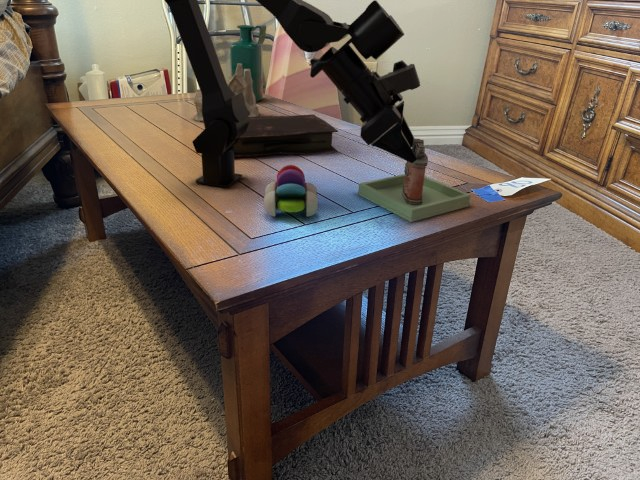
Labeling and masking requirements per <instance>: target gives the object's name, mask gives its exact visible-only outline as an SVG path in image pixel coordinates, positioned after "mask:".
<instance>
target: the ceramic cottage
mask: <svg viewBox="0 0 640 480" xmlns="http://www.w3.org/2000/svg"><path fill="white" fill-rule="evenodd" d="M242 75H243V68H242V64H238V65H237V68H236V74H235V75H234V76H233V77H231V75H230V76H228V83H227V85H228V86H229V88H230V89H231V90H232V91H233V93H234V94H235V95H237V94H239V93H240V92H242V93H243V96H244V100H245V105H246V107H247V109H248V111H249V112H250V113H251V114H250V115H249V116H248V117H257V116H260V109H259V106H258V105H257V102H256V100H255V95H254V93H253V87H252V82H253V81H252V78H251V71H250V69H244V77H243V76H242ZM193 104H194V106H195V110H196V114H195V121H198V122H199V121H200V122H203V117H202V94H201V91H200V88H198V89H196V90H195V95H194V99H193Z"/></svg>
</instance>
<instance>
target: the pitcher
mask: <svg viewBox="0 0 640 480" xmlns="http://www.w3.org/2000/svg"><path fill="white" fill-rule="evenodd" d="M236 28H237V29H239V39H238V40H237V41H234V42H232V43H231V44H230V46H229V58H230V59H229V61H230V62H229V63H230V76H231V77H233V76H234V75H235V74H236V68H237V65H238V64H242V68H243V75H242V76H243V77H244V69H250V71H251V78H252V81H253V82H252V87H253V93H254V95H255V100H256V103H258V102H260V101H261V100H263V98H264V94H263V93H264V79H263V78H264V77H263V74H264V73H263V70H264V69H263V68H264V66H263V65H264V64H263V44H264V43H265V39H266V35H267V34H266V33H267V26H266V24H260V25H256V26H254V25H251V24H238V25H236ZM254 31H255V32H256V31H259V32H258V39H257V41H255V40H254V39H253V32H254Z"/></svg>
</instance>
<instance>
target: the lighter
mask: <svg viewBox="0 0 640 480" xmlns="http://www.w3.org/2000/svg"><path fill="white" fill-rule="evenodd" d="M414 138H415V137H414ZM411 148H412V150H413V152H414V153H415V155H416V157H417V160H416V161H415V162H413V163H410V162H408V161H406V162H405V163H404V170H403V171H404V174H405V179H404V185H403V188H402V197H403V199H404V201H405V202H406V203H407V204H409V205H412V206H419V205H422V200H423V194H422V191H423V184H424V176H426V168H427V167H428V162H429V158H428V157H429V156H428V155H427V153H425V151H426V147H425V141H424V139H420V138H415V139H413V146H412V147H411Z"/></svg>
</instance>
